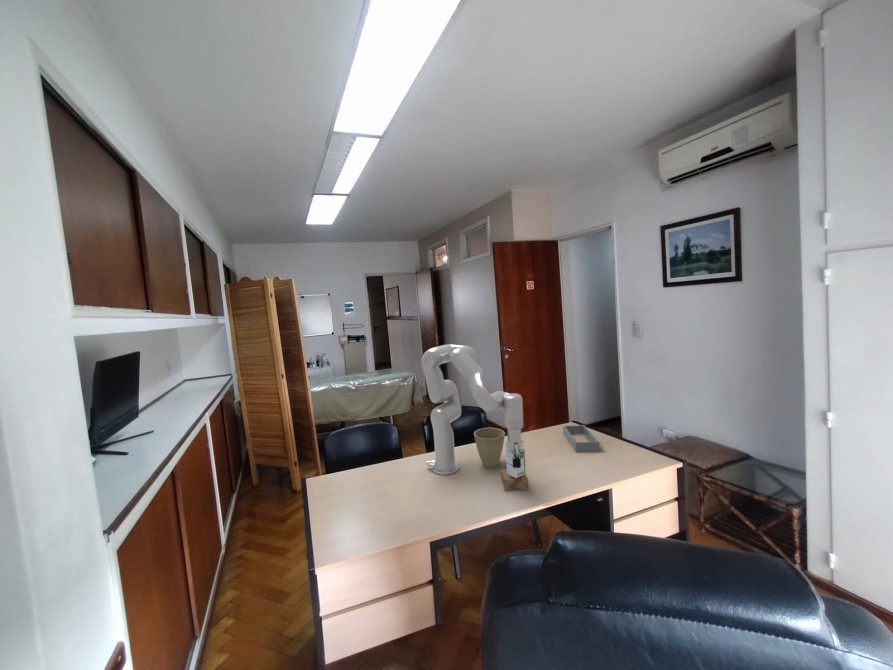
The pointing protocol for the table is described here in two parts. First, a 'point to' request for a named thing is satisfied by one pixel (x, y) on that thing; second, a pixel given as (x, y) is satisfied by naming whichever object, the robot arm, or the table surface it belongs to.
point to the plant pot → (489, 445)
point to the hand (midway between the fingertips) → (515, 462)
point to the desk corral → (581, 446)
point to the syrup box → (509, 459)
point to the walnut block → (513, 481)
